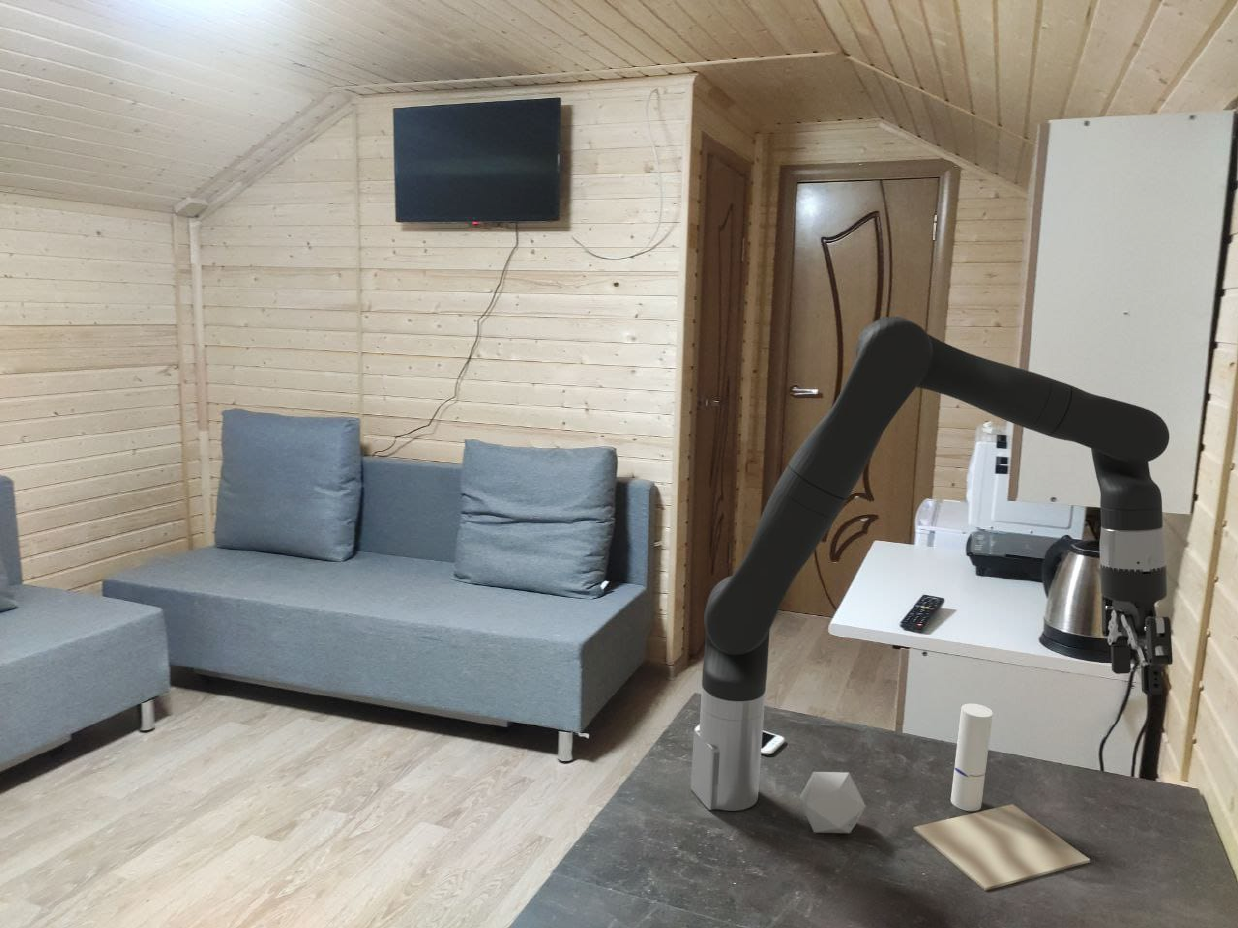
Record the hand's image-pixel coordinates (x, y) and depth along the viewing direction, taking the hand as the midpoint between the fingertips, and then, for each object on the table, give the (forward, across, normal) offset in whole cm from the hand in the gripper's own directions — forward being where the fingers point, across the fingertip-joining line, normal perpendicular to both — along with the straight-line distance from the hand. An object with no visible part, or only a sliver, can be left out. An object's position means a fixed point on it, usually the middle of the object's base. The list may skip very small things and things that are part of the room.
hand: (1136, 682), depth 122 cm
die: (+21, -5, -40) cm, 45 cm away
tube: (+22, -14, -19) cm, 32 cm away
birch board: (+23, -4, -17) cm, 29 cm away
